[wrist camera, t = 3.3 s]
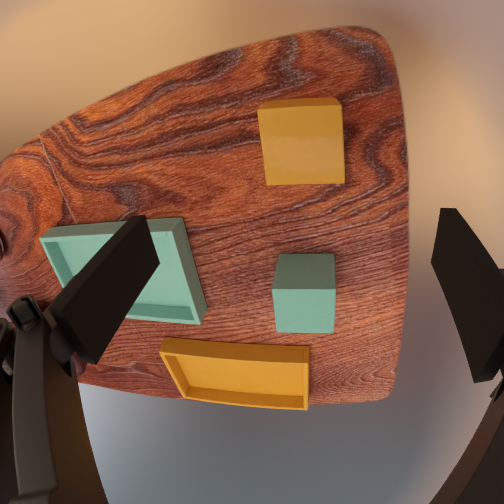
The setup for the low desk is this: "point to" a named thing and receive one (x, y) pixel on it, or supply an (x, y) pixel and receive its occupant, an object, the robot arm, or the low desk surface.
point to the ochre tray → (239, 372)
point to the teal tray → (162, 281)
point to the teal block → (305, 293)
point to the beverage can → (1, 249)
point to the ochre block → (302, 141)
